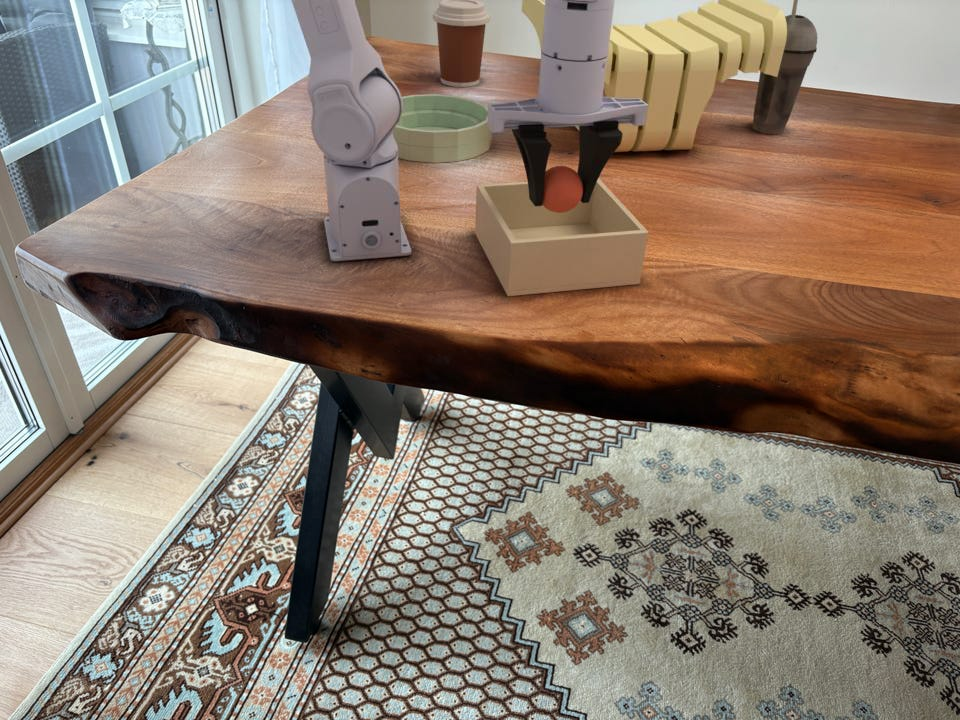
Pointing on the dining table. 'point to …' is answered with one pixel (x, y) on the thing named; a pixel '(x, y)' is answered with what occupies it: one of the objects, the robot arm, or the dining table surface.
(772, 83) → the beverage cup
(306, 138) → the dining table surface
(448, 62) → the coffee cup
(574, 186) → the toy ball
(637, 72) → the slatted curved stool
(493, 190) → the bin
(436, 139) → the bowl
